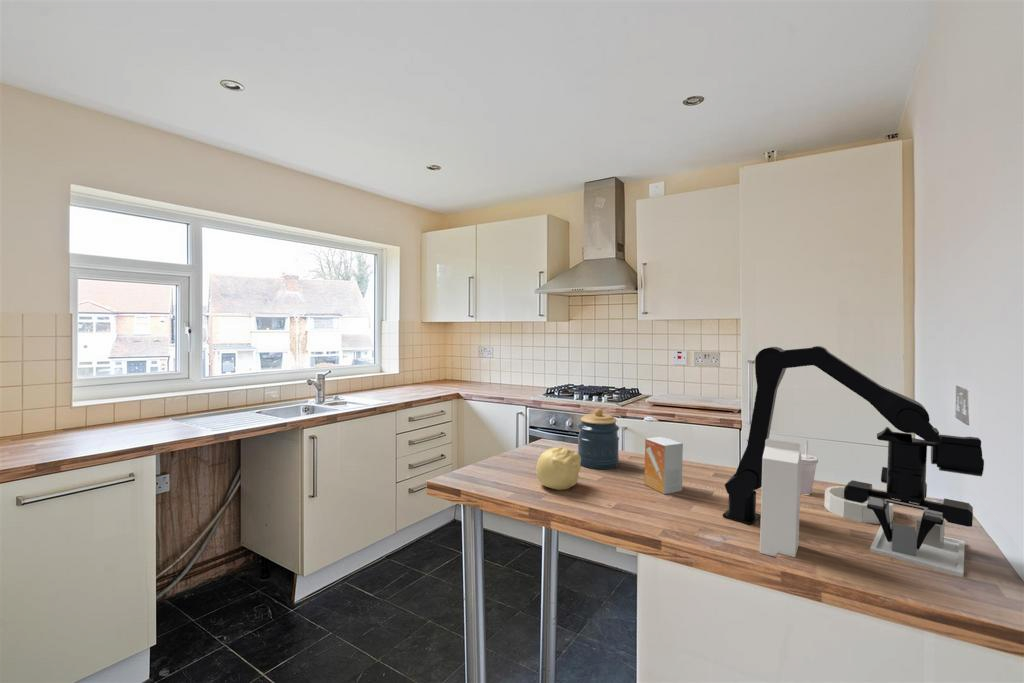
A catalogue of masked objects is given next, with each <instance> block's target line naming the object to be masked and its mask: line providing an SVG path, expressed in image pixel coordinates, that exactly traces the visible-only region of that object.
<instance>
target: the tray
mask: <svg viewBox="0 0 1024 683" xmlns="http://www.w3.org/2000/svg"><path fill="white" fill-rule="evenodd" d="M890 526H891V523H890ZM965 542H966V541H964V540H961V539H956V538H952V537H949V536H945V535H944V544H943V545H942V546H941V547H940V548H936V547H933V546H929V545H926V544H922V545H921V547H920V549H919V550H918V549H917V553H916V556H912V555H907V554H903V553H898V552H893V551H892V549H891V545H890V542H888V541H887V539H886V536H885V534H884V531H883V529H882V526H881V525H880V526H879V529H878V531H877V533H876V534H875V537H874V539H873V541H872V543H871V545H870V548H869V549H870V550H869V551H870V552H871V553H875V554H878V555H882V556H886V557H890V558H893V559H897V560H900V561H904V562H907V563H911V564H915V565H918V566H922V567H926V568H929V569H933V570H937V571H940V572H943V573H947V574H950V575H951V574H952V575H955V576H958V577H962V578H964V570H965V568H964V566H965V546H966V545H965V544H966V543H965Z"/></svg>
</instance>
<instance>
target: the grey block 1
mask: <svg viewBox="0 0 1024 683" xmlns="http://www.w3.org/2000/svg"><path fill="white" fill-rule="evenodd" d="M890 545H891V549H892V551H893V552H898V553H903V554H907V555H912V556H916V553H917V532H916V526H912V525H907V524H902V523H897V522H893V521H892V522H891V541H890Z"/></svg>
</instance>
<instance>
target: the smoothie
mask: <svg viewBox="0 0 1024 683" xmlns="http://www.w3.org/2000/svg"><path fill="white" fill-rule="evenodd" d="M808 450H809V440H805V449H804V451H805V452H804V453H801V483H800V494H811V495H812V491H813V486H814V480H815V474H816V470H817V464H818V463H819V458H818V457H817V456H814V455H810V454H808V453H809V452H808Z"/></svg>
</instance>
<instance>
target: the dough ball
mask: <svg viewBox="0 0 1024 683" xmlns="http://www.w3.org/2000/svg"><path fill="white" fill-rule="evenodd" d="M536 462H537V463H536V465H535V466H536V467H535V469H536V470H535V472H536V478H537V479H538V481H539V483H540V484H541V485H542V486H544V487H547V488H549V489H552V490H555V491H556V490H558V491H565V490H568V489H570V488H571V487H574V486H575V485H576V483H578V480H579V477H580V476H579V474H580V471H581V466H582V465H580V462H581V457H580V455H579V454H578V452H576V451H575V450H573V449H569V448H567V447H564V446H562V445H560V446H559V447H553V448H549V449H547V450H544V452H542V453H541V455H540V456H539V457H538V459H537V461H536Z"/></svg>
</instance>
